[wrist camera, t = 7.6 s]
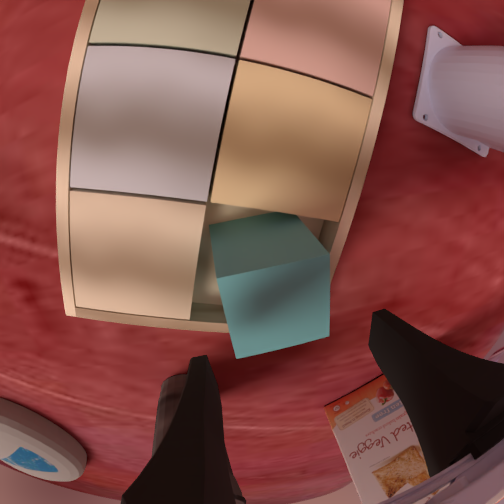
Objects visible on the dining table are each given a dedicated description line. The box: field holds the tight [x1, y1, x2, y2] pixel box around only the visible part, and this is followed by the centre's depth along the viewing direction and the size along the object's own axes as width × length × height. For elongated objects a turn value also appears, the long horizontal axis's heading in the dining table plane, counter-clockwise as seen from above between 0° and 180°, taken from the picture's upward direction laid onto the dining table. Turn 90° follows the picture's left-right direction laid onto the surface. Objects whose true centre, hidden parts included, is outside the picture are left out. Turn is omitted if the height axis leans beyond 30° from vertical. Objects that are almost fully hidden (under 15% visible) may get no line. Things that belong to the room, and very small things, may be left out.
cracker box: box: [324, 374, 504, 504], centre depth 23 cm, size 14×6×21 cm, turn 119°
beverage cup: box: [152, 374, 246, 504], centre depth 17 cm, size 7×7×20 cm
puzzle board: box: [56, 0, 404, 333], centre depth 15 cm, size 24×16×3 cm
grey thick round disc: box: [0, 398, 87, 481], centre depth 25 cm, size 18×18×5 cm
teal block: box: [209, 212, 330, 359], centre depth 17 cm, size 5×5×6 cm
